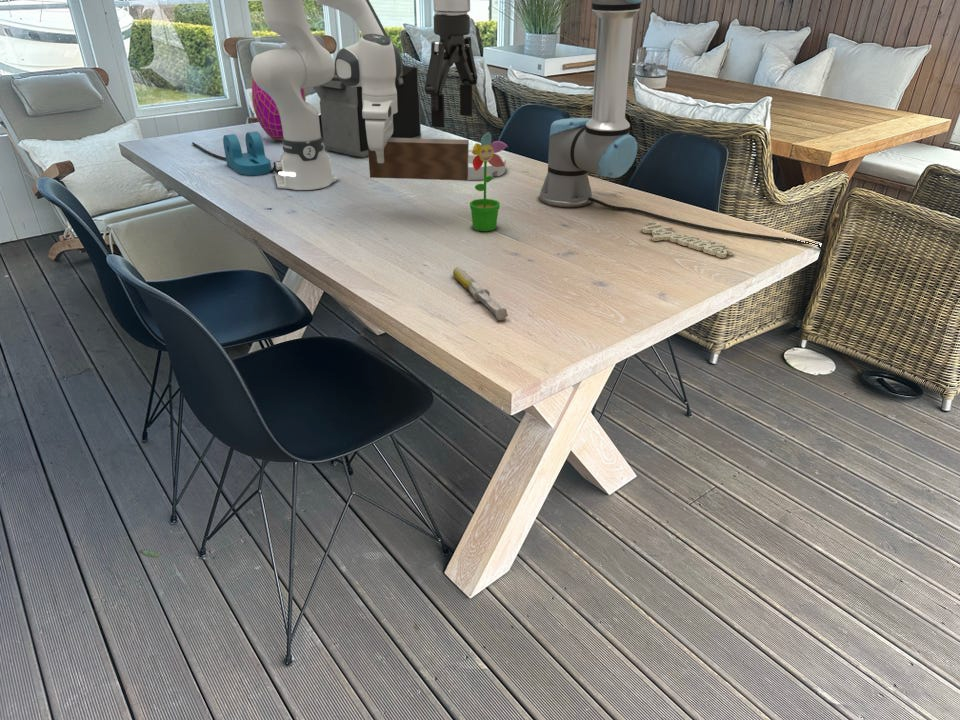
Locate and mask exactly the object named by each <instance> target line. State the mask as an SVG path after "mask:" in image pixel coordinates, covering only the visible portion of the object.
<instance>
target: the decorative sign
mask: <svg viewBox="0 0 960 720" xmlns="http://www.w3.org/2000/svg"><path fill="white" fill-rule="evenodd" d="M673 229H674V228H673V226H669V225H668V226H662V225H661V223H660V222H656V221H648V222H647V225H645V226H642V230H641V232H642V233H643V234H651V235H652V239H651V240H652V241H654V242H659V241H668V242H671V243H677V244H678V245H681V246H684V247H688V248H689V249H694V250H696V251H702V252H703V253H705V254H708V255H711V256H715V257H717V258H721V259H725V258H727V256H732V255H733V250H732V249H729V248H726V243H716V240H703V241H702V240H701V239H700V237H697V236H696V235H691V234H688V233H685V234H681V233H680V234H679V233H678V232H674V231H673Z"/></svg>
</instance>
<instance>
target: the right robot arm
mask: <svg viewBox="0 0 960 720" xmlns="http://www.w3.org/2000/svg"><path fill="white" fill-rule="evenodd" d="M642 2H644V0H592V2H591V12H593V13H594V15H595V16H596V18H597V25H596V39H595V41H596V43H595V57H594V58H595V60H594V74H593V75H594V76H593V91H592V93H593V95H592V111H591V118H589V117H572V118H571V117H570V118H562V119H556V120H554V121H553V122H552V123H551V125H550V129H549V130H550V131H549V134H548V156H547V158H548V159H547V173H546V176H545V178H544V181H543V184H542V187H541V189H540V192H539V200H540V202H542V203H543V204H546V205H549V206H553V207H558V208H559V207H560V208H580V207H584V206H588V205H589V204H591V203H596V204H598V205H600V206H602V207H605V208H608V209H612V210H617V211H626V212H633V213H639V214H642V215H646V216H649V217H653V218H656V219H660V220H663V221H667V222H671V223H675V224H678V225H681V226H682V225H683V226H687V227H690V228H691V227H692V228H696V229H701V230H704V231H705V230H706V231H710V232H715V233H716V232H717V233H722V234H728V235H735V236H741V237H747V238H756V239H762V240H769V241H778V242H779V241H780V242H787V243H793V244H799V245H810V246H815V245H818V246H815V247H817V248H818V249H819V250H820V251H821V252H822V253H827V250H826V248H825V247H824V246H823V245H822V244H821V247H820V245H819V244H820V243H819V242H817V241H813V240H811V241H812V242H815V243H818V244H815V243H812V242H809V241H810V240H804V241H805V243H804V242H801V241H803V240H802V239H799V240H800V241H797V240H798V239H796V240H795V238H788V237H781V236H772V235H765V234H757V233H749V232H742V231H737V230H731V229H730V230H729V229H723V228H718V227H712V226H707V225H702V224H698V223H692V222H688V221H683V220H679V219H676V218H671V217H667V216H665V215H660V214H657V213H653V212H651V211H650V212H649V211H646V210H643V209H639V208H633V207H626V206H617V205H612V204H608V203H606V202H604V201H602V200H599V199H596V198H594V197H593V193H592V188H591V184H590V179H589V173H592V174H595V175H598V176H600V177H603V178H611V179H617V178H620V177H622V176H623V175H625V174H626V173H627V172H628V171H629V169H630V168H631V167H632V166H633V164H634V162H635V160H636V157H637V154H638V141H637V140H636V138H635V137H634V136H632V135H631V134H630V130H631V123H630V122H629V121H628V120H627V118H626V108H627V97H628V85H629V71H630V61H631V48H632V35H633V24H634V23H633V22H634V17H635V16H636V14H637V13H639V11H640V10H641V5H642ZM432 3H433V12H436V14H434V15H433V33H434V34H435V36H436V35H437V36H439V41H431V44H430V58H429V63H428V68H427V74H426V79H425V83H424V92H425V94H426V95H430V107H431V108H430V114H431V116H430V117H431V127H434V128H445V127H446V126H445V94H443V90H444V87H445V84H446V81H447V78H448V74H449V72H450V68H451V67H453V65H454V66H455V69H456V71H457V74H458V76H459V78H460V81H461V84H460V85H459V116H464V117H472V116H473V85H474V86H476V85H478V72H477V67H476V63H475V57H474V53H473V48H472V37H471V36H468V35H469V34H470V33H471V16H470V15H469V14H468V13H469V12H470V11H471V0H433V2H432ZM784 238H786V239H784ZM806 242H808V243H806ZM809 243H812V244H815V245H812V244H809Z"/></svg>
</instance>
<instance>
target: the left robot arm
mask: <svg viewBox="0 0 960 720" xmlns="http://www.w3.org/2000/svg"><path fill="white" fill-rule="evenodd" d="M260 1H261V5H262V10H263V16H264V21H265V24H266V26H267V27H268V28H269V29H270V31H272V32H274V33H275V34H278V35H279V36H280V37H281V38H282V39H283V41H284V44H285V46H286V48H279V49H278V48H277V49H269V50H266V51H263V52H261V53H258V54H256V55H255V56H254V57H253V59H252V61H251V67H250V69H251V70H250V71H251V78H252V77H253V79H254V81H255V83H256V84H257V85H258V87H259V88H261V89H262V90H263V91H265V92H266V93H267V94H268V95H269V96H270V97H271V98H272V99H273V101H274V102H275V104H276V106H277V108H278V111H279V114H280V119H281V124H282V130H283V137H284V138H283V141H282V142H281V143H282V144H281V145H282V151H283V152H282V154H281V156H280V158H279V160H278V161H277V160H276V161H274V162H273V167H272V168H271V170H270V172H269V173H271V174H272V173H274V179H275V183H276V187H277V189H287V190H295V191H313V190H318V189H324V188H326V187H329V186H330V185H331V184H332V183H335V182H337V181H338V177H337V176H335V175H333V173H332V166H331V160H330V159H331V158H330V154H328V153H327V152H326V151H324V149H325V147H324V143H323V138H322V136H321V132H320V123H319V115H320V114H319V111H318V109H317V108H316V107H315V106H314V105H312V104H311V103H310V102H307V101H306V102H305V101H304V100H303V98H302V95H301V91H300V89H303V88H304V89H310V88H313V87H317V86H320V85H323V84H325V83H327V82H329V81H331V80H332V78H333V76H334V73H335V71H336V75H337V77H338V79H339V80H340V81H341V82H342V83H343V84H344V85H345V86H349V87H360V86H361V87H362V104H363V109H362V117H363V119H365V126H366V134H367V142H368V147H369V149H370V150H371V151H375V152H376V155H377V162H378V163H384V161H385V157H384V148H385V146H386V144H387V141H388V140H389V138H390V137H391V135H392V134H393V114H395V113H397V112H398V109H397V90H396V87H395V82H396V81H397V80H398V78H399V77H400V75H401V72H402V69H403V66H404V61H403V58H402V55H401V53H400V51H399V49H398V48H397V47H396V45H395V43H394V42H393V41H392V39H390V37H389V35H388V33H387V31H386V30H385V28H384V25H383V24H382V22H381V20H380V18H379V16H378V14H377V12H376V11H375V8H374V6H373V5H372V4H371V2H370V0H314V1H315V2H316V3H318V4H320V5H322V6H325V7H328V8H332V9H335V10H338V11H339V12H342V13H344V14H346V15H348V16H349V17H350V18H352V20H353V21H354V22H355V24H356V25H357V27H358V29H359V30H360V33H361V34H362V36H361V37H360V38H359V40H358V41H357V42H356V43H353V44H352V45H348V46H346V47H343V48H340V49H339V50H338V52H337V53H336V56H335V58H333V56H332V54H331V53H330V51H329V50H328V49H326V48H325V47H324V46H322V45H321V43H319V42H318V40H317V39H316V37H315V36H314V34H313V32H312V30H311V27H310V26H309V22H308V20H307V16H306V11H305V7H304V6H305V5H304V1H303V0H260ZM191 145H193V146H195V147H196V148H198V149H199V150H201V151H203V152H204V153H206V154H209V155H210V156H212V157H215V158H218V159H221V160H225V161H226V156H223V155H220V154H219V155H218V154H215V153H213V152H211V151H209V150H206V149H205V148H204V147H202V146H200V145H199V144H198V143H195V142H194V141H193V142H192V143H191Z"/></svg>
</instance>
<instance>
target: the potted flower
mask: <svg viewBox="0 0 960 720" xmlns="http://www.w3.org/2000/svg"><path fill="white" fill-rule="evenodd" d="M508 147H509V146H508V144H507V143H505V142H504V141H501V140H496V141H493V142H492V134H491V132H490V131H488V132H486V133H484V134H483V135H482V136H481V138H480V143H478V142H476V143H474V145H473V148H472V149H471V150H472V153H473V154H474V155H477V156H476V157H475V158H474V159H473V167H474V169H475V170H476V171H477V170H479V169H480V167H481V166H482V164H483V162H484V179H483V183H478V184H476V185H475V186H474V189H475V190H476V191H478V192H483V198H478V199H473V200H471V201H470V202H469V207H470V208H469V209H470V212H471V222H472V228H473V229H474V230H475V231H478V232H492V231H494V230H495V229H496V228H497V224H498V215H499V210H500V206H501V204H500V202H499V201H498V200H495V199H492V198H491V199H490V198H487V183H489V182H491V181H492V179H493V178H494V176H488V177H486V174H487V162H489V163H490V164H491V165H492V166H495V167H502V166H505V167H506V164H504V163H503V161H502V159H501V158H500V157H499V156H498V155H496V154H494V153H500V152H502V151H504V150H505V149H506V148H508Z"/></svg>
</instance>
